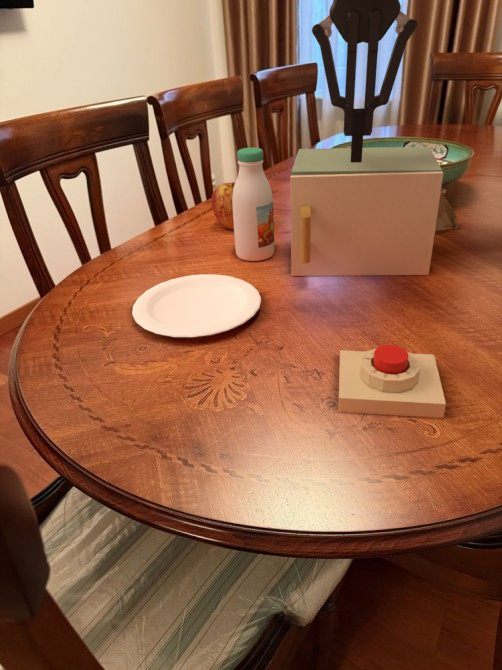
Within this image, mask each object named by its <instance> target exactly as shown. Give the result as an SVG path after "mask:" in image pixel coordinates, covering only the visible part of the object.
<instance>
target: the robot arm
mask: <svg viewBox="0 0 502 670" xmlns="http://www.w3.org/2000/svg"><path fill="white" fill-rule="evenodd" d="M401 9H402V5H401V1H400V0H333V1H332V4H331V5H330V8H329V12H328V13H329V14H328V15H327V16H326V17H325V18H323V19H322V20H321V21H320V22H319V23H315V24H314V25H313V26H312V28H311V33H312V35H313V36H314V38H315V40H316V41H317V43H318V45H319V49H320V53H321V59H322V63H323V64H322V65H323V68H324V74H325V80H326V84H327V89H328V94H329V98H330V104H331V105H332V106H333V107H335V108H336V107H337V108H339V109H341V110H342V111H343V114H344V115H343V136H344V137H351V145H350V146H351V147H350V148H351V162H362V148H364V147H363V145H364V137H366V136H367V137H370V136H371V135H372V133H373V127H374V126H373V125H374V113H375V110H376V109H377V108H379V107H382V106H386V105H387V104H388V103H389V101H390V98H391V94H392V91H393V88H394V85H395V81H396V78H397V74H398V72H399V69H400V65H401V63H402V59H403V56H404V53H405V49H406V46H407V43H408V41H409V40H410V38H411V37H412V35H413V33H414V32H415V31H416V29H417V27H418V21H417V20H416V19H414V18H411V17H409V16H408V15H407V14H405V13H404V12H402V11H401ZM395 21H396V26H395V33H396V34H397V35H396V38H395V40H394V43H393V47H392V50H391V54H390V57H389V60H388V64H387V68H386V71H385V73H384V77H383V81H382V84H381V87H380V91H379V94H377V95H376V84H377V83H376V82H377V72H378V71H377V70H378V54H379V43H380V41H382V40H383V38H384V37H385V35H386V34H387V33H388V31H389V30H390V28H391V27H392V25H393V24H394V23H395ZM333 25H334V27H335V28H336V30H337V32H338V33H339V35H340V36H341V38H342V40H343V41H344V42H345V43H346V45H347V46H346V65H345V88H344V89H345V90H344V91H345V92H344V96H342V95H341V92H340V87H339V81H338V76H337V71H336V65H335V61H334V54H333V49H332V44H331V40H330V37H332V34H333V30H332V26H333ZM361 43H365V44H367V51H366V52H367V53H366V69H365V89H364V101H363V102H364V105H363V108H355V95H356V94H355V92H356V74H357V58H358V57H357V54H358V44H361Z"/></svg>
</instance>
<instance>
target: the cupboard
mask: <svg viewBox="0 0 502 670" xmlns="http://www.w3.org/2000/svg"><path fill="white" fill-rule="evenodd" d="M441 171H442V172H443V169H442V167H441V165H440V164H439V161H438V160H437V158H436V156H435V154H434V152H433V151H432V149H431V148H430V146H392V147H390V146H389V147H385V146H383V147H382V146H381V147H362V162H351V147H335V148H333V147H331V148H330V147H329V148H299V149H298V151H297V153H296V157H295V160H294V163H293V166H292V168H291V175H290V176H293V175H330V174H367V173H404V172H441Z"/></svg>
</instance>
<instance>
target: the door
mask: <svg viewBox="0 0 502 670" xmlns="http://www.w3.org/2000/svg"><path fill="white" fill-rule="evenodd" d="M289 177H290V180H289V183H290V184H289V186H290V264H291V266H290V267H291V268H290V269H291V270H290V271H291V272H290V273H291V277H308V276H309V277H322V276H323V277H324V276H325V277H329V276H330V277H331V276H332V277H335V276H337V277H338V276H341V277H342V276H345V277H347V276H348V277H349V276H354V277H355V276H429V275H430V269H431V261H432V256H433V248H434V241H435V236H436V235H435V228H436V221H437V214H438V207H439V200H440V193H441V192H442V186H443V178H444V172H443V170H442V171H441V172H404V173H367V174H330V175H293V176H291V175H289Z"/></svg>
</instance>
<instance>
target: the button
mask: <svg viewBox="0 0 502 670" xmlns="http://www.w3.org/2000/svg"><path fill="white" fill-rule="evenodd" d="M376 348H377V349H376ZM376 348H375V349H376V350H375V352H374V361H373V366H374V368H375V369H376V370H377V371H380V372H382V373H385V374H393V375H397V374H401V373H404V372H405V371H406V369H407V364H408V357H409V355H408V352H409V351H407V350H406V349H405V348H403V347H401V346H399V345H395V344H384V345H380V346H378V347H376Z"/></svg>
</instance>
